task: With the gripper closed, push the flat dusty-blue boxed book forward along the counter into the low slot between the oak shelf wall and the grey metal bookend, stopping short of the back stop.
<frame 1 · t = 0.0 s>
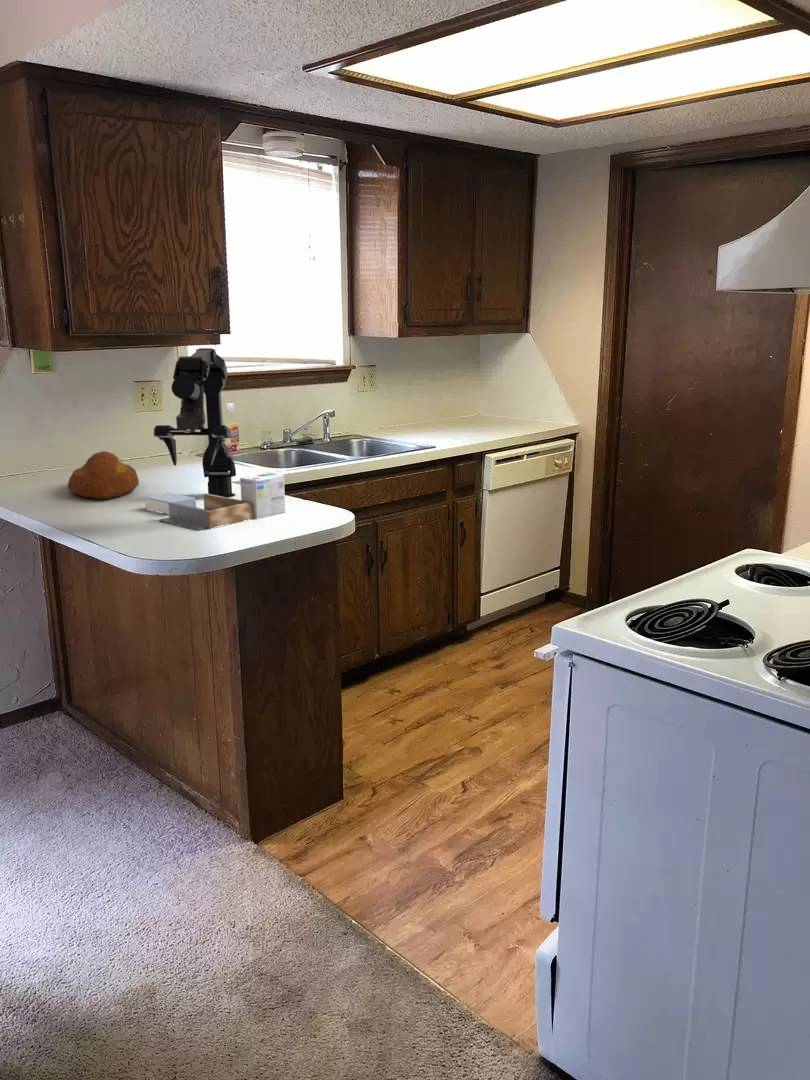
hand: (192, 465, 222), 15 cm above the worktop, tool pointing down, fingers open, 9 cm apart
light bulb box: (263, 514, 237), on the worktop
oak shelf corner: (210, 518, 231), on the worktop
grey bookend: (190, 523, 226), on the worktop
bread: (104, 492, 267), on the worktop
boxed book: (171, 511, 241), on the worktop
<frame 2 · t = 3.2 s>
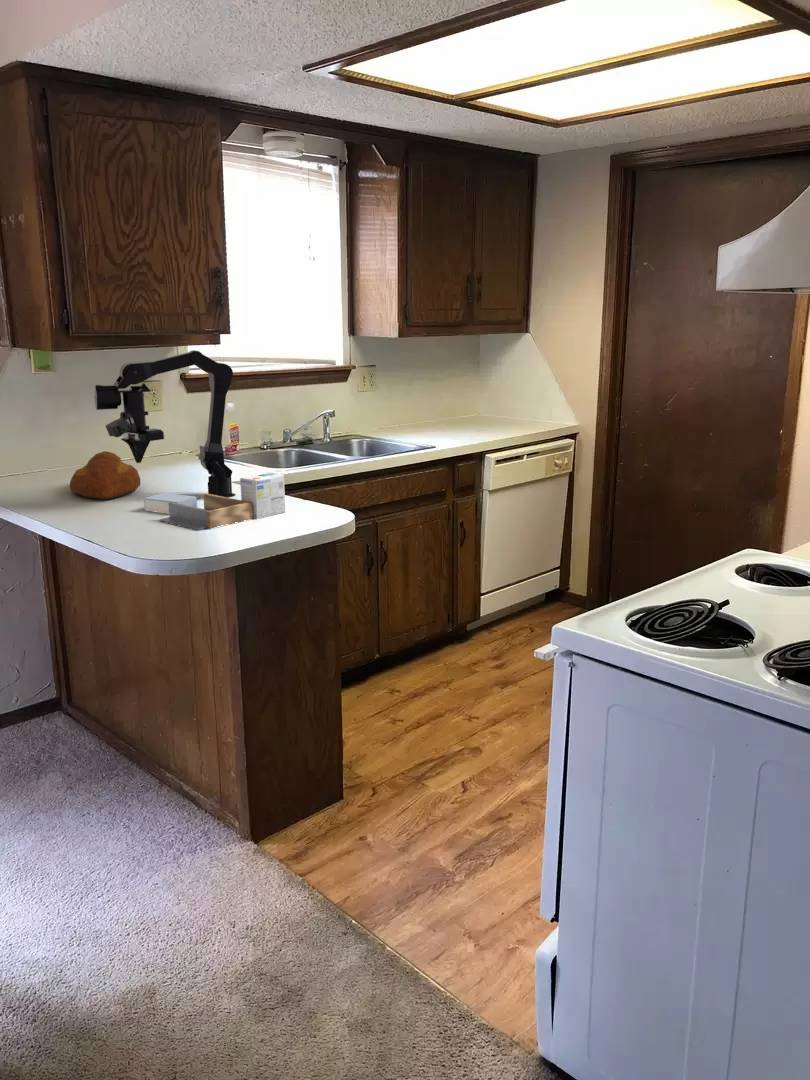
hand: (138, 462, 247), 12 cm above the worktop, tool pointing down, fingers closed
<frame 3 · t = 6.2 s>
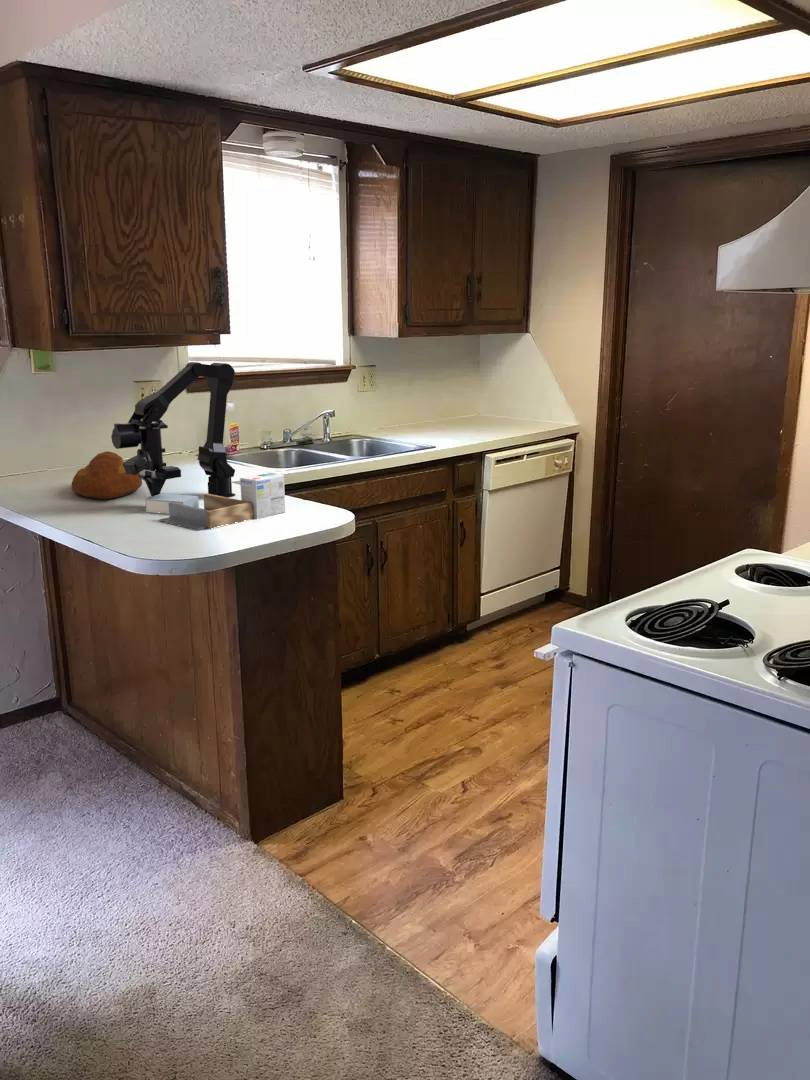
hand: (155, 499, 245), 2 cm above the worktop, tool pointing down, fingers closed
boxed book: (172, 511, 241), on the worktop, touching gripper
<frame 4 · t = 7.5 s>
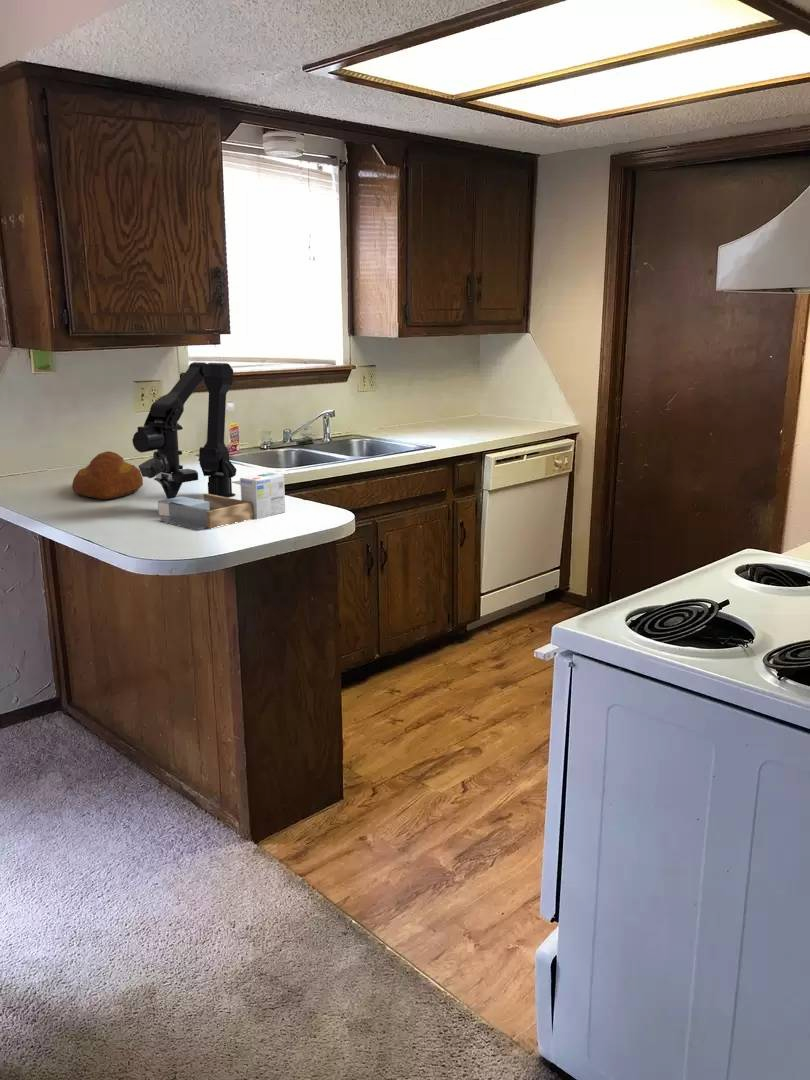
hand: (171, 502, 241), 2 cm above the worktop, tool pointing down, fingers closed
boxed book: (184, 515, 236), on the worktop
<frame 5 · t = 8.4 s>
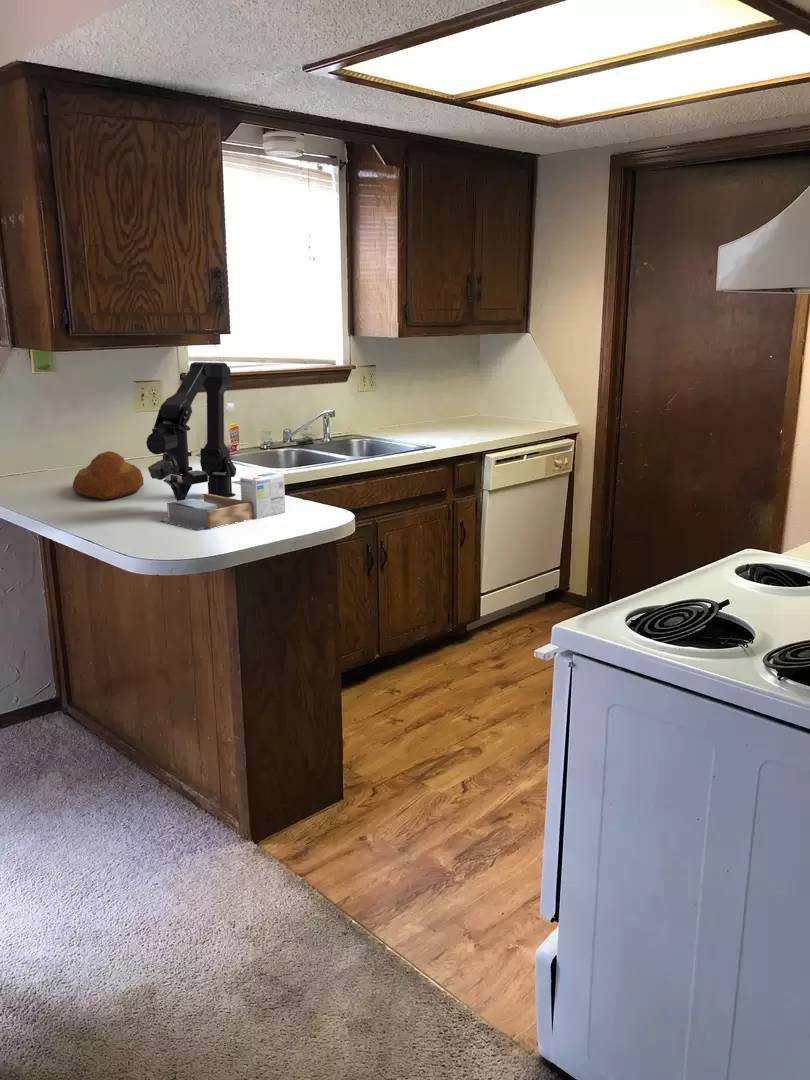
hand: (180, 504, 238), 2 cm above the worktop, tool pointing down, fingers closed
boxed book: (192, 518, 233), on the worktop, touching gripper
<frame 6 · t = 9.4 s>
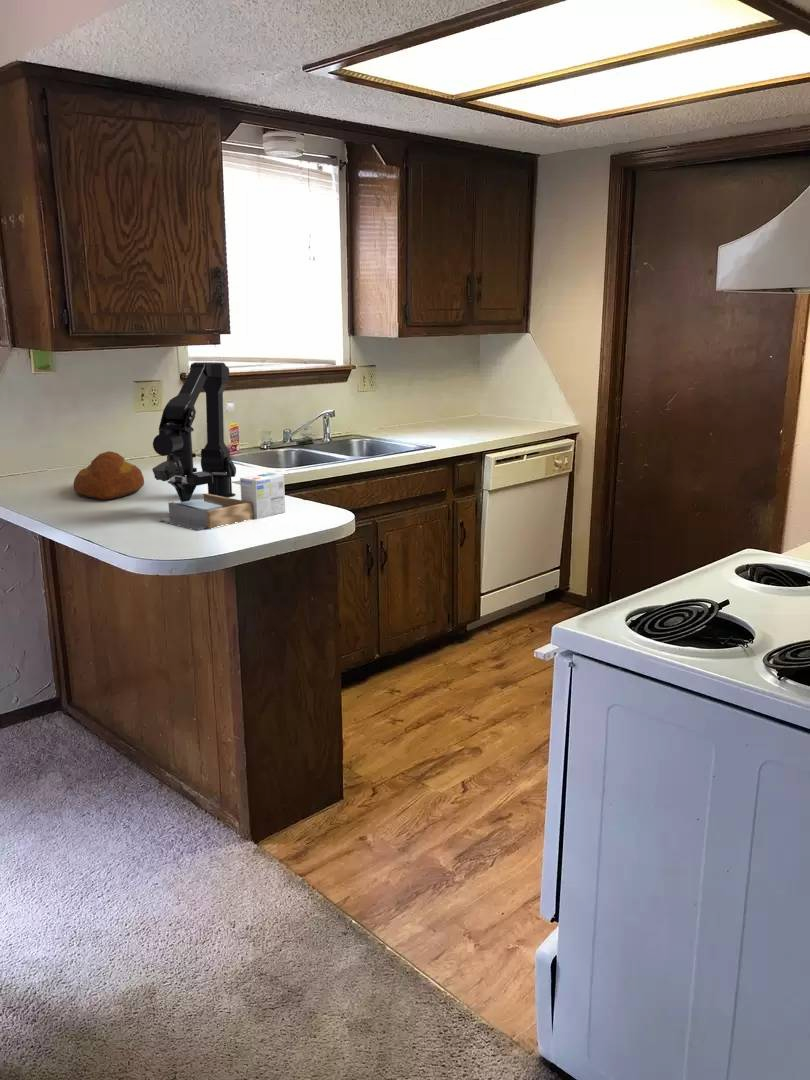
hand: (185, 506, 237), 2 cm above the worktop, tool pointing down, fingers closed
boxed book: (197, 519, 232), on the worktop
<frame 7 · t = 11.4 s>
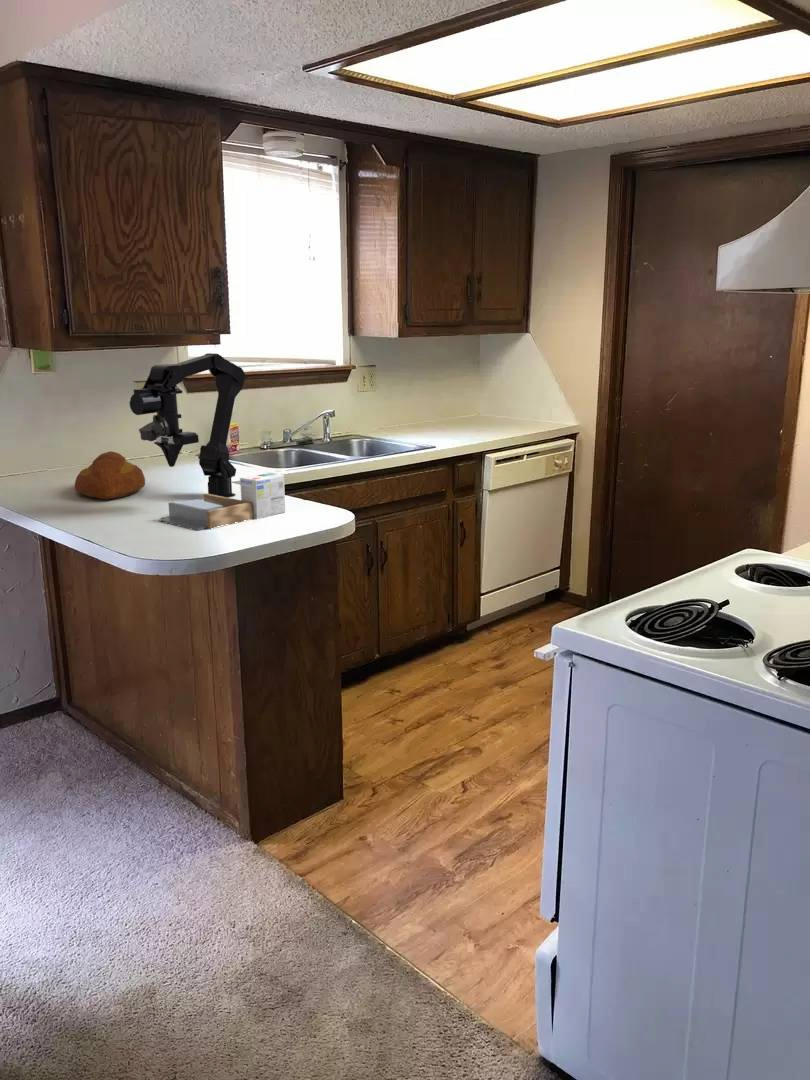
hand: (171, 466, 242), 12 cm above the worktop, tool pointing down, fingers closed
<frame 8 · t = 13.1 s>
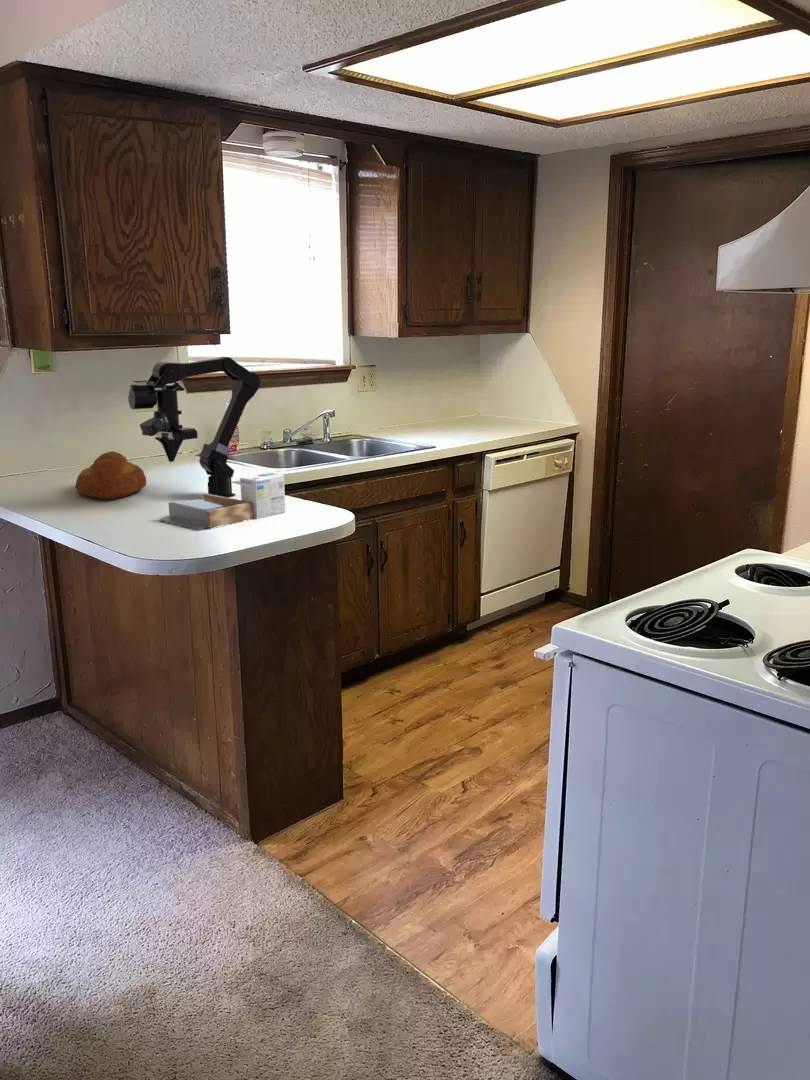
hand: (171, 461, 248), 12 cm above the worktop, tool pointing down, fingers closed
at the end: boxed book inside the target area (3.6 cm from its centre), on the worktop; boxed book tilted 0° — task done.
